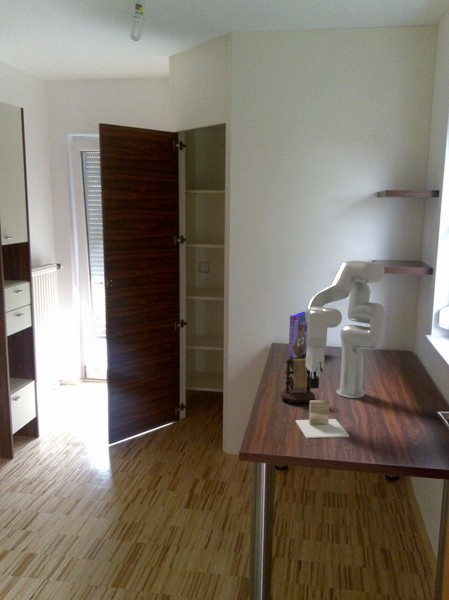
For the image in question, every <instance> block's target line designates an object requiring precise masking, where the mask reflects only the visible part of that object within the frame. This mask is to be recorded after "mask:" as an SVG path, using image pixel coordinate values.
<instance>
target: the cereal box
mask: <svg viewBox="0 0 449 600" xmlns="http://www.w3.org/2000/svg"><path fill="white" fill-rule="evenodd" d="M305 314H306V311H301V312H298V313H295V314H291V315H290V316H289V334H288V336H289V338H288V358H290V356H291V355H292V356H293V357H294V358H293V359H298V358H300V357H302V356H304V355H306V354H305V353H307V330H308V322H307V321H306V318H305ZM303 354H304V355H303ZM301 355H302V356H301ZM299 356H300V357H299ZM297 357H298V358H297Z"/></svg>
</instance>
